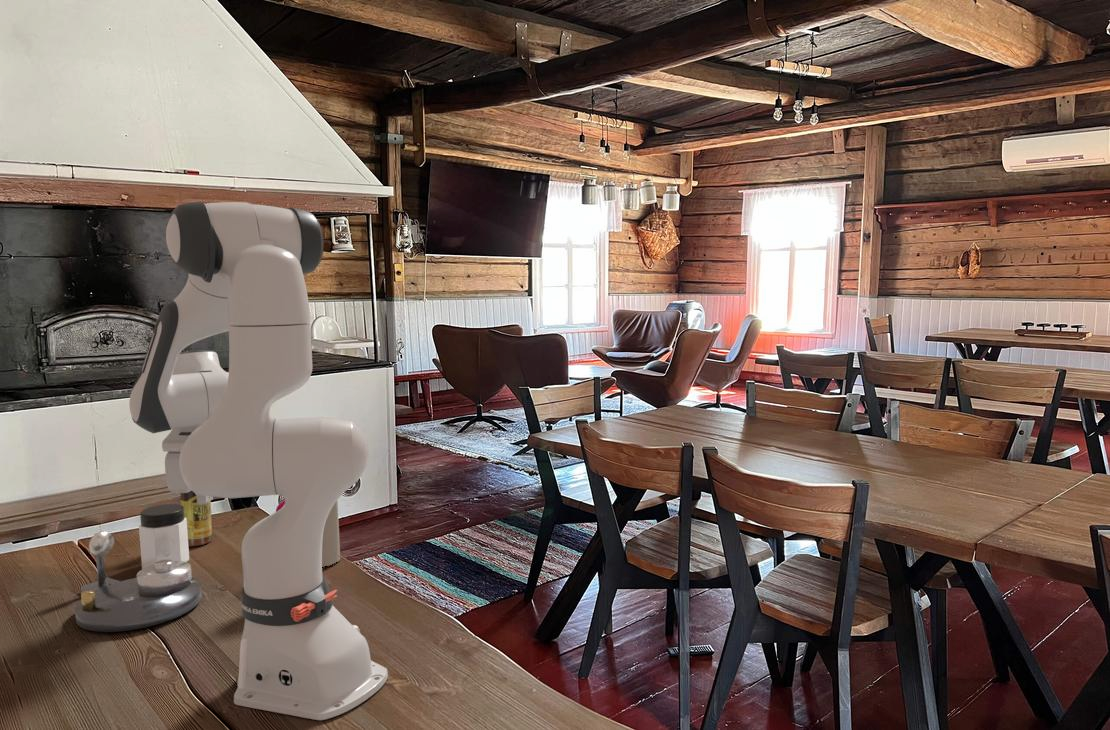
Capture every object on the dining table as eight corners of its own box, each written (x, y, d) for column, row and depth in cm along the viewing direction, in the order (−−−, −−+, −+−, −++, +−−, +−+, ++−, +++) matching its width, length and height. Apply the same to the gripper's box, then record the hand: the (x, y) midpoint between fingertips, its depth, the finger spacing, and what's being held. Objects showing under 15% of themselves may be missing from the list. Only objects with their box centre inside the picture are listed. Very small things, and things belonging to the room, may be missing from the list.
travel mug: (314, 572, 155) (310, 486, 152) (293, 563, 160) (289, 479, 158) (347, 560, 161) (344, 477, 158) (326, 552, 166) (322, 471, 164)
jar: (145, 576, 153) (140, 518, 152) (139, 564, 160) (135, 508, 159) (193, 566, 159) (189, 510, 157) (185, 554, 165) (182, 501, 164)
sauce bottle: (197, 549, 169) (191, 461, 166) (175, 546, 171) (169, 459, 168) (219, 539, 175) (214, 454, 172) (198, 536, 177) (192, 453, 175)
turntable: (183, 575, 152) (181, 551, 151) (216, 607, 137) (214, 580, 136) (66, 605, 139) (63, 578, 138) (88, 643, 124) (86, 614, 123)
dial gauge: (130, 590, 147) (126, 531, 145) (104, 599, 142) (100, 539, 141) (107, 583, 150) (102, 525, 149) (81, 592, 146) (76, 533, 144)
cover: (202, 581, 144) (200, 558, 143) (158, 599, 136) (156, 575, 135) (172, 573, 148) (170, 550, 147) (127, 590, 140) (125, 566, 140)
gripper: (210, 422, 158) (214, 487, 159) (156, 444, 137) (161, 518, 139) (240, 422, 157) (244, 487, 159) (190, 444, 137) (196, 518, 139)
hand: (205, 502), depth 149 cm, fingers closed
